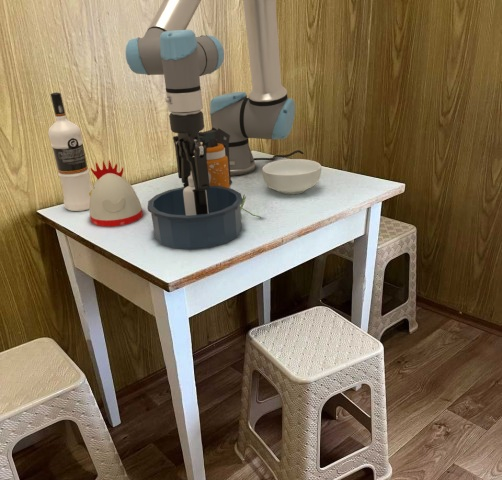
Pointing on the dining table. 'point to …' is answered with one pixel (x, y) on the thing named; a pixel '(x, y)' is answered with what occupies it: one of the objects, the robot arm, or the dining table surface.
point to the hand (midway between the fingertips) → (197, 212)
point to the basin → (196, 219)
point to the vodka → (70, 159)
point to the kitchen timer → (113, 199)
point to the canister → (217, 156)
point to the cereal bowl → (291, 175)
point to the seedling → (244, 209)
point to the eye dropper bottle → (190, 198)
